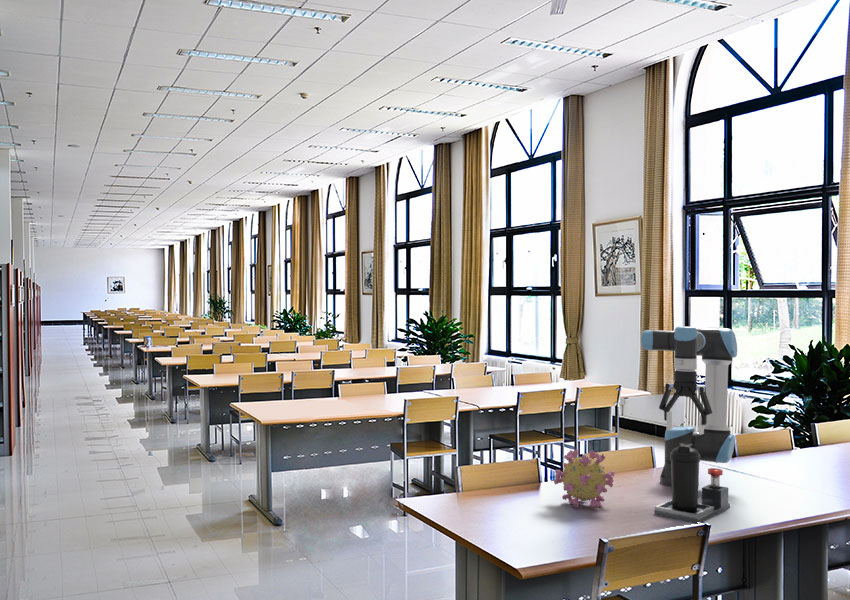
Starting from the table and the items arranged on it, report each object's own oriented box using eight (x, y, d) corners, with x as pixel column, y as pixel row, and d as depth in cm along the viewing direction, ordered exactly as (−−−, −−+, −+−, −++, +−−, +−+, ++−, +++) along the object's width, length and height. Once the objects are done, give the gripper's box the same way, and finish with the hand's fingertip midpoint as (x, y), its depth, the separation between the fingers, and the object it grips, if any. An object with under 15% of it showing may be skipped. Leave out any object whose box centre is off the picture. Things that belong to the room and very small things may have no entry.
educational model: (576, 494, 297) (577, 443, 297) (627, 505, 281) (628, 452, 281) (540, 505, 281) (540, 451, 281) (592, 518, 265) (593, 461, 265)
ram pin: (705, 491, 278) (705, 469, 278) (711, 489, 282) (711, 467, 282) (719, 494, 275) (719, 472, 275) (724, 491, 279) (724, 469, 279)
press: (654, 514, 270) (654, 493, 270) (687, 499, 291) (687, 479, 291) (698, 523, 259) (698, 501, 259) (729, 507, 280) (730, 486, 280)
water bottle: (701, 507, 273) (701, 443, 273) (698, 515, 264) (698, 448, 264) (671, 504, 278) (672, 441, 278) (667, 511, 268) (668, 446, 268)
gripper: (649, 368, 276) (649, 429, 276) (714, 373, 260) (713, 437, 260) (658, 367, 281) (658, 426, 281) (722, 371, 266) (722, 434, 266)
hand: (684, 432), depth 271 cm, fingers open, 11 cm apart
